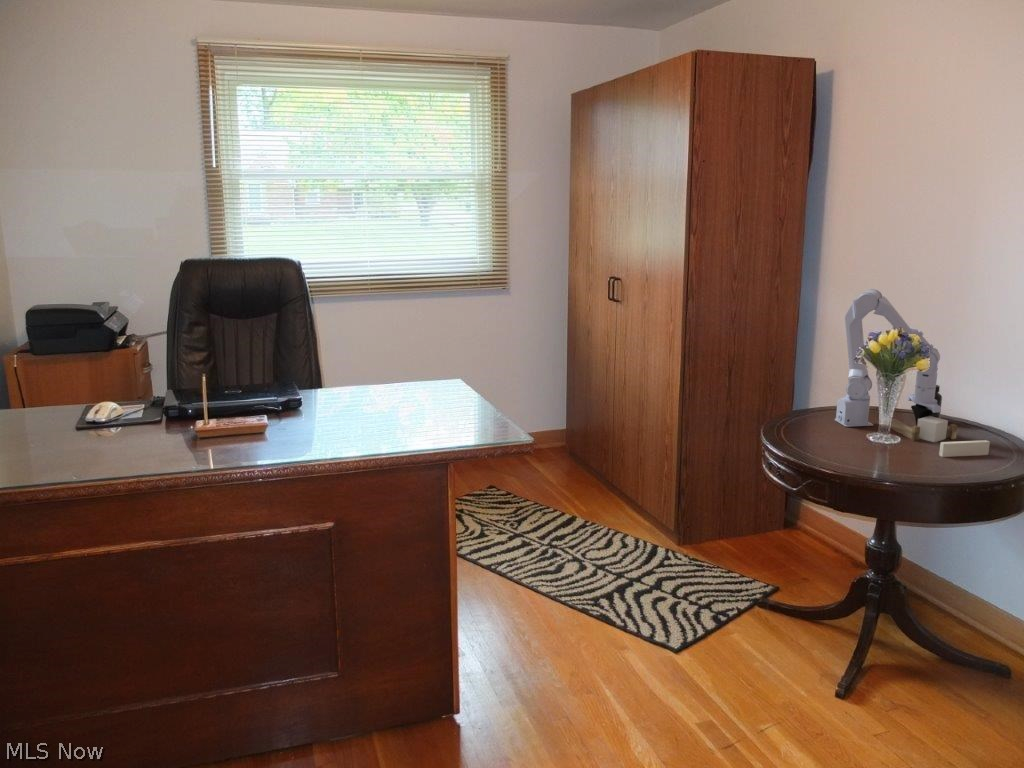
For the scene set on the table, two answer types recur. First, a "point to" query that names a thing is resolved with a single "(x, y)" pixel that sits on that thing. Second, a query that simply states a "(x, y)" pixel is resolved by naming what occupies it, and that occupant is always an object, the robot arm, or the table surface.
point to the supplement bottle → (939, 401)
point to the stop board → (964, 448)
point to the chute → (914, 432)
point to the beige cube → (932, 428)
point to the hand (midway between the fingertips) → (920, 428)
